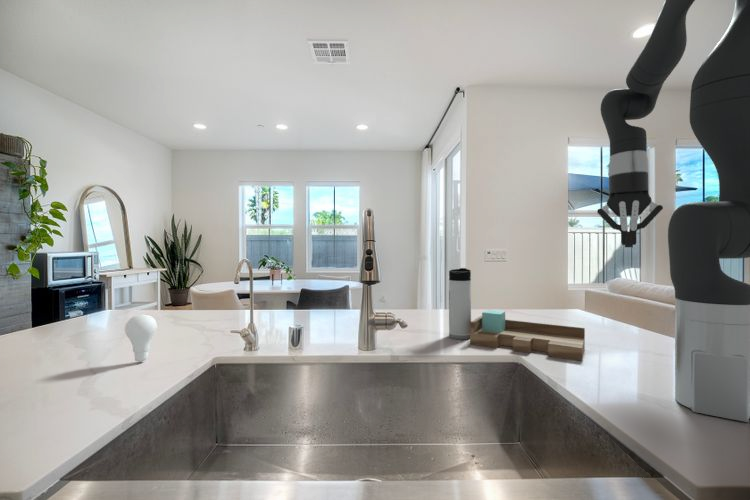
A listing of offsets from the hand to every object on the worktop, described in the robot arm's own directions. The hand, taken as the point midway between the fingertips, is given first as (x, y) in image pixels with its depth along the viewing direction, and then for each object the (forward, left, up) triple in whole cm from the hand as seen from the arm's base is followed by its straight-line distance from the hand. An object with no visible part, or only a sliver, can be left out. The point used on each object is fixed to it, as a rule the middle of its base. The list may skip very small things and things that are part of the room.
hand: (628, 247), depth 82 cm
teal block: (-1, +31, -23) cm, 38 cm away
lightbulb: (-65, +93, -26) cm, 116 cm away
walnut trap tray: (-3, +22, -26) cm, 34 cm away
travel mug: (-3, +40, -26) cm, 48 cm away
